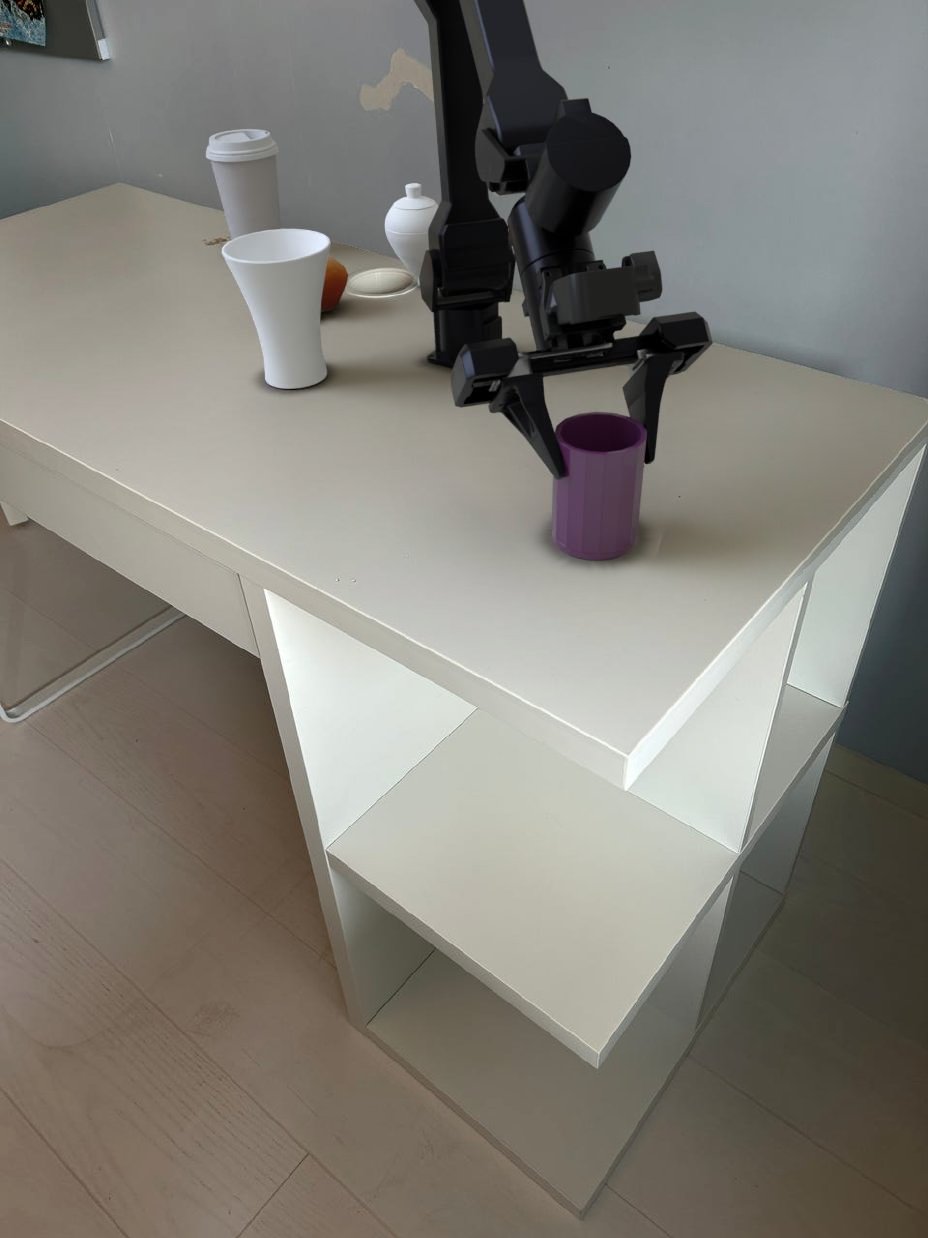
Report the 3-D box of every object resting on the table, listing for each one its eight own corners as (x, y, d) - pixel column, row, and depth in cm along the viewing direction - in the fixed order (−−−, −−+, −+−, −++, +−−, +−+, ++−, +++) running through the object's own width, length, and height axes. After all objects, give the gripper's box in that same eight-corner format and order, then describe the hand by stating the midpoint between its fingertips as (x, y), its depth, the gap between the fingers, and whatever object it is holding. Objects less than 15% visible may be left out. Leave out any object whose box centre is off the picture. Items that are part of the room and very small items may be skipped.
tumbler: (536, 544, 74) (538, 439, 68) (577, 505, 78) (582, 404, 72) (612, 569, 71) (621, 462, 65) (651, 528, 75) (662, 424, 69)
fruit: (260, 310, 111) (269, 240, 110) (294, 324, 119) (303, 258, 118) (321, 318, 109) (331, 246, 108) (352, 331, 116) (361, 264, 115)
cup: (355, 388, 97) (339, 253, 89) (252, 405, 95) (226, 268, 87) (336, 350, 105) (320, 223, 97) (241, 364, 103) (216, 235, 95)
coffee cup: (287, 262, 130) (269, 142, 120) (218, 264, 130) (194, 145, 121) (297, 241, 137) (281, 126, 128) (232, 243, 138) (211, 128, 128)
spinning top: (439, 297, 117) (434, 194, 110) (381, 293, 119) (372, 191, 111) (456, 276, 123) (452, 177, 115) (400, 273, 125) (393, 175, 117)
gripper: (453, 225, 61) (506, 457, 60) (718, 194, 65) (774, 412, 63) (431, 305, 72) (475, 502, 70) (658, 275, 76) (705, 462, 74)
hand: (605, 470), depth 69 cm, fingers closed on tumbler, 7 cm apart
